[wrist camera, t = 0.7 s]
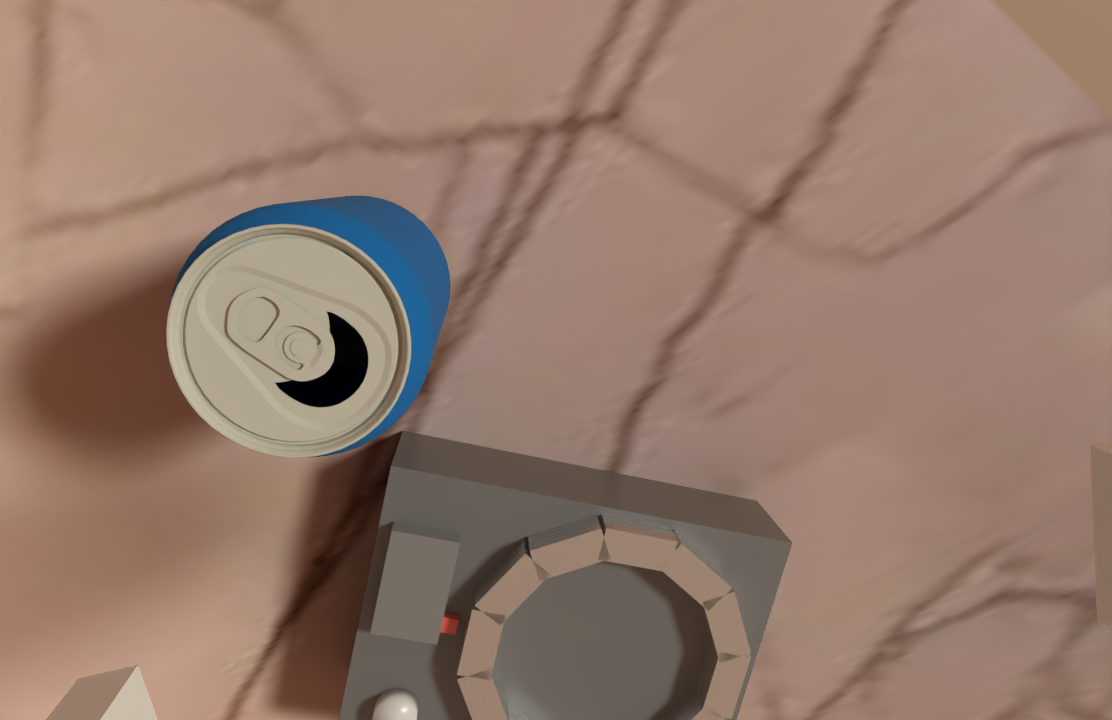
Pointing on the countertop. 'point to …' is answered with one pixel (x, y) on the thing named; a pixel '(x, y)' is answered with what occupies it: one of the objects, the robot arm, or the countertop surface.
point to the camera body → (544, 589)
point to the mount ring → (584, 546)
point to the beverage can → (308, 323)
